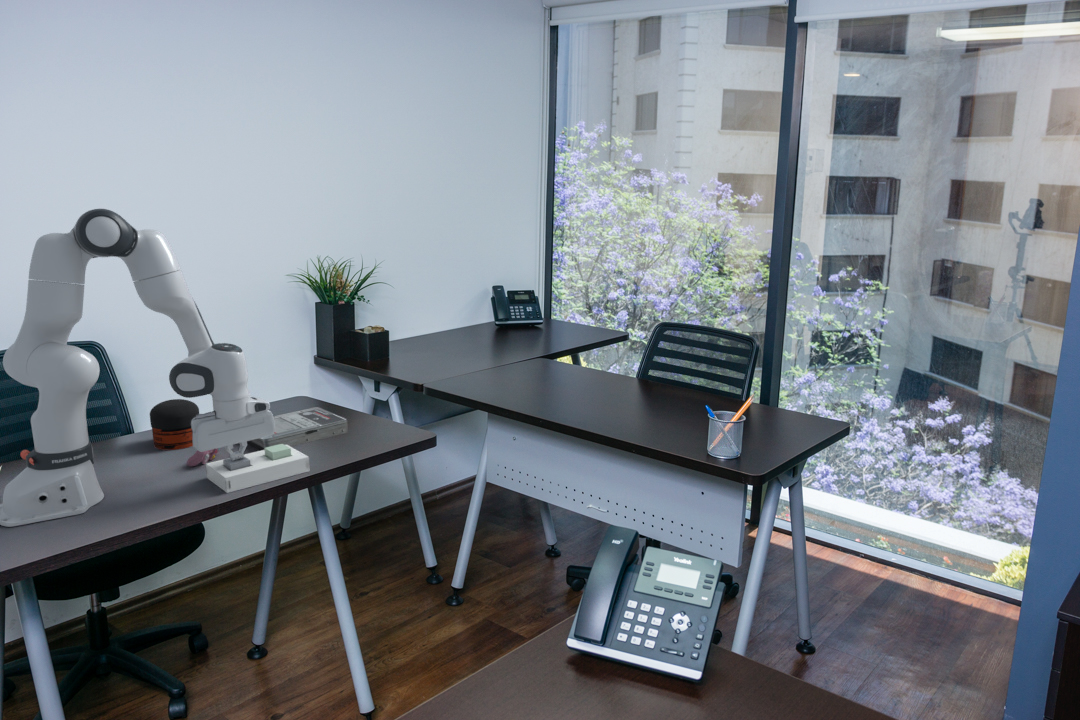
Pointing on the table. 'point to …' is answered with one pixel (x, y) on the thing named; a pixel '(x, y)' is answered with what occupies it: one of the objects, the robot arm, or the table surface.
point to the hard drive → (302, 428)
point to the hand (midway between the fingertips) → (237, 459)
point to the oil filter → (173, 424)
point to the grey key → (236, 464)
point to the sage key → (277, 452)
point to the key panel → (257, 470)
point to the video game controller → (202, 457)
